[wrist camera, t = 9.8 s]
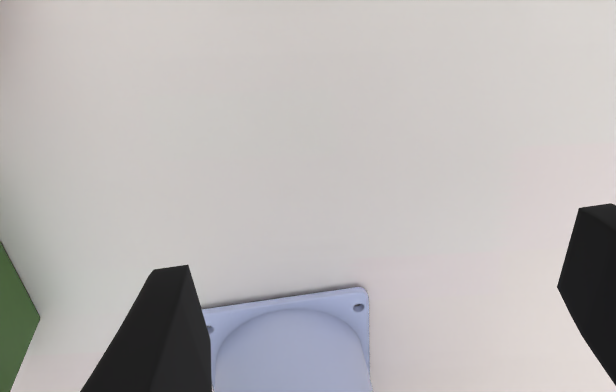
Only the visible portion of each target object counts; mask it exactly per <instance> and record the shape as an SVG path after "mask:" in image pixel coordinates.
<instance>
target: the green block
mask: <svg viewBox="0 0 616 392" xmlns="http://www.w3.org/2000/svg"><path fill="white" fill-rule="evenodd" d="M39 320H40V317H39V315H38V313H37V311H36V309H35V307H34V305H33V303H32V301H31V300H30V298H29V296H28V294H27V292H26V290H25V288H24V286H23V284H22V282H21V280H20V279H19V277H18V275H17V273H16V271H15V269H14V267H13V265H12V263H11V261H10V259H9V258H8V256H7V254H6V252H5V250H4V248H3V246H2V244H1V242H0V392H10V390H11V388H12V386H13V383H14V381H15V378H16V376H17V373H18V371H19V369H20V366H21V364H22V361H23V359H24V356H25V354H26V352H27V349H28V347H29V344H30V342H31V340H32V337H33V335H34V332H35V330H36V327H37V325H38V323H39Z"/></svg>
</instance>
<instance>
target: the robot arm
mask: <svg viewBox="0 0 616 392" xmlns="http://www.w3.org/2000/svg"><path fill="white" fill-rule="evenodd" d="M557 288H558V290H559V292H560V294H561V296H562V298H563V300H564V302H565V304H566V306H567V308H568V310H569V313H570V314H571V316H572V318H573V320H574V322H575V324H576V326H577V328H578V329H579V331H580V333H581V335H582V337H583V338H584V340H585V341H586V343H587V344H588V346H589V347H590V349H591V350H592V352H593V353H594V355H595V356H596V357H597V359H598V360H599V362H600V363H601V365H602V366H603V368H604V369H605V371H606V372H607V374H608V375H609V377H610V378H611V379H612V381H613V382H614V384H615V385H616V205H613V204H604V205H597V206H590V207H583V208H579V210H578V214H577V217H576V221H575V224H574V228H573V232H572V235H571V239H570V242H569V246H568V250H567V253H566V257H565V260H564V264H563V268H562V271H561V275H560V278H559V282H558V286H557ZM357 304H360V305H358V306H355V305H357ZM207 326H211V327H209V328H208V327H207ZM212 386H213V389H214V392H373V388H372V384H371V381H370V353H369V297H368V294H367V291H366V290H365V289H364V288H362V287H354V288H347V289H340V290H333V291H326V292H319V293H312V294H305V295H298V296H292V297H285V298H278V299H271V300H264V301H257V302H250V303H243V304H236V305H229V306H222V307H215V308H208V309H203V310H202V309H201V306H200V303H199V299H198V296H197V293H196V289H195V286H194V283H193V279H192V276H191V273H190V269H189V266H188V265H183V266H176V267H169V268H162V269H155V270H153V271H152V272H151V274H150V275H149V276H148V278H147V280H146V282H145V284H144V286H143V288H142V289H141V291H140V293H139V295H138V297H137V298H136V300H135V302H134V304H133V306H132V307H131V309H130V311H129V313H128V315H127V316H126V318H125V320H124V321H123V323H122V325H121V327H120V328H119V330H118V332H117V334H116V335H115V337H114V339H113V340H112V342H111V343H110V345H109V347H108V348H107V350H106V352H105V353H104V355H103V356H102V358H101V360H100V361H99V363H98V365H97V366H96V368H95V369H94V371H93V373H92V374H91V376H90V377H89V379H88V380H87V382H86V384H85V385H84V387H83V388H82V390H81V391H80V392H212Z"/></svg>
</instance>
